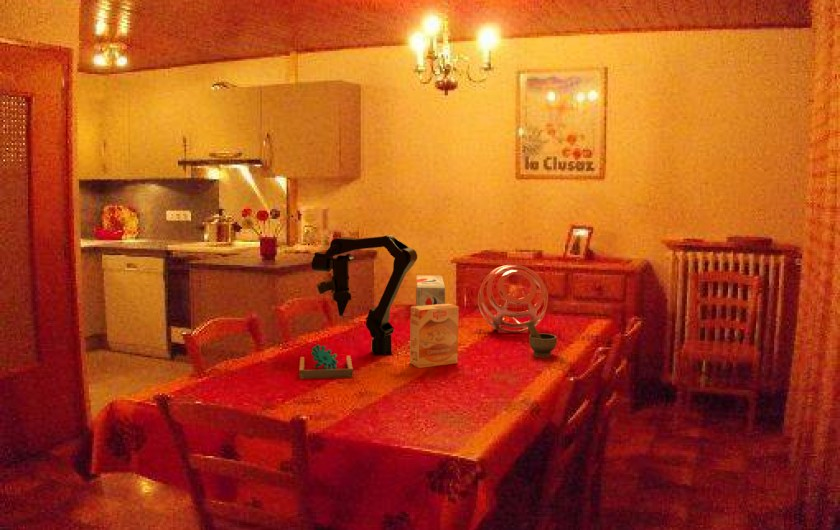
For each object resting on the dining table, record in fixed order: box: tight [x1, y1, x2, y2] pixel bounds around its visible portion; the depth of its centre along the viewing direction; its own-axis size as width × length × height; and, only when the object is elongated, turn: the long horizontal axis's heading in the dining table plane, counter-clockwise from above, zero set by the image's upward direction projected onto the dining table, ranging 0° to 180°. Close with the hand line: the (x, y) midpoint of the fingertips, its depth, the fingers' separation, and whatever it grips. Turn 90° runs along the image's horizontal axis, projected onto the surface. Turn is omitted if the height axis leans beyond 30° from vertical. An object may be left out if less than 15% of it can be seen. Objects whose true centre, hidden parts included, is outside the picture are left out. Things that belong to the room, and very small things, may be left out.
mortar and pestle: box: [526, 320, 558, 359], centre depth 262 cm, size 11×9×12 cm
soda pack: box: [415, 274, 446, 306], centre depth 344 cm, size 41×13×14 cm, turn 0°
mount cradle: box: [298, 355, 354, 380], centre depth 240 cm, size 16×17×2 cm
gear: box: [310, 344, 339, 369], centre depth 242 cm, size 11×6×10 cm
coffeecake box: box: [409, 303, 460, 369], centre depth 249 cm, size 15×7×20 cm, turn 117°
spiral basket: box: [477, 264, 549, 334], centre depth 301 cm, size 28×28×27 cm
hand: (340, 315), depth 268 cm, fingers closed
